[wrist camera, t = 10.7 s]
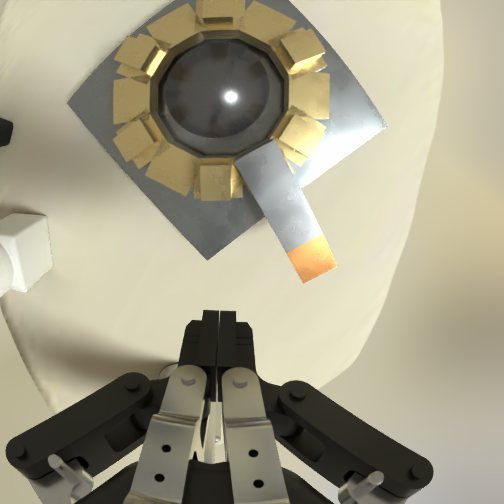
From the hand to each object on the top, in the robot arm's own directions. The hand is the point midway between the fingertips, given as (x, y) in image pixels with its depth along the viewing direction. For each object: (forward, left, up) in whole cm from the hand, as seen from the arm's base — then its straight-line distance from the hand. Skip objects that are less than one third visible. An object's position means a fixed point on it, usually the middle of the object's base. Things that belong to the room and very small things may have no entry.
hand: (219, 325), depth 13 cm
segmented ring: (+6, -6, -12) cm, 15 cm away
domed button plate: (+9, -7, -17) cm, 21 cm away
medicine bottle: (+15, +22, -18) cm, 32 cm away
